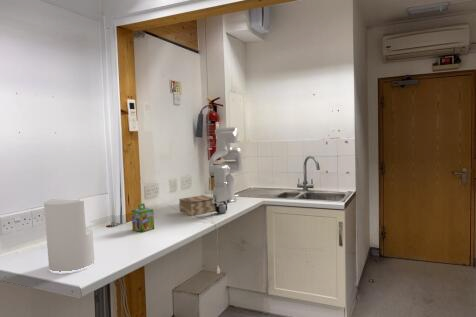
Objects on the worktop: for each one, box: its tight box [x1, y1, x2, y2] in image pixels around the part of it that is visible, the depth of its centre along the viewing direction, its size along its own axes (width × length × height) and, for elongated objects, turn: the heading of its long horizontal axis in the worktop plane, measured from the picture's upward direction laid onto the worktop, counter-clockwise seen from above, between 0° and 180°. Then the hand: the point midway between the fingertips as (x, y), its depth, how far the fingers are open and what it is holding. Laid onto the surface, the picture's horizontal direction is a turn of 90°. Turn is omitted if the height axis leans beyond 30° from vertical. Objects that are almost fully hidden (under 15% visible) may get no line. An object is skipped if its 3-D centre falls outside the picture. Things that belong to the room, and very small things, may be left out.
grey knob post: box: [216, 203, 227, 214], centre depth 234 cm, size 6×6×5 cm
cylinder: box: [43, 199, 96, 272], centre depth 145 cm, size 17×17×28 cm
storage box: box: [178, 200, 216, 217], centre depth 241 cm, size 20×16×8 cm
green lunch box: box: [130, 203, 155, 233], centre depth 199 cm, size 9×9×15 cm
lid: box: [178, 194, 213, 204], centre depth 241 cm, size 20×16×1 cm
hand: (221, 211), depth 234 cm, fingers closed on grey knob post, 6 cm apart
